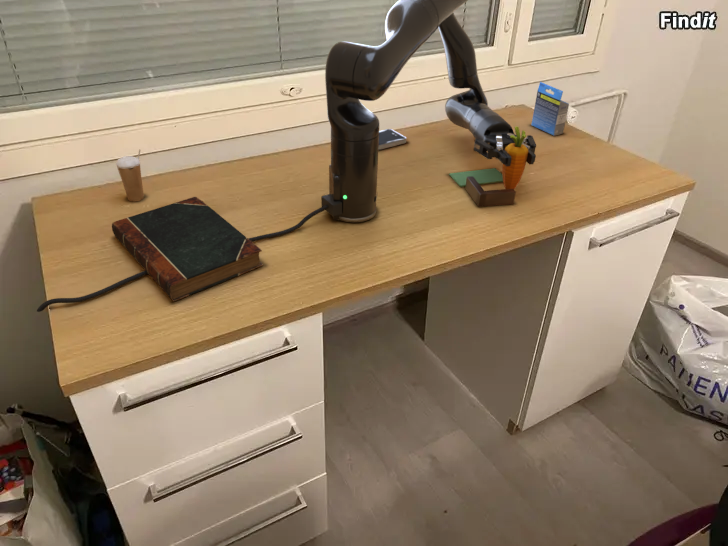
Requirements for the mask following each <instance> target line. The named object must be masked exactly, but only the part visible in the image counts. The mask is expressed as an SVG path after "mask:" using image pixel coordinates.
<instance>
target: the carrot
mask: <svg viewBox="0 0 728 546" xmlns="http://www.w3.org/2000/svg"><path fill="white" fill-rule="evenodd" d="M514 133H515V135H516V136H517V137H515V136H514V135H511V136H510V137H511V138H512V139H513V140H514V142H515V143H511V144H509V145H508V146H507V147H506V148H505V151H506V152H507V153H508V154H509V155H510V156H511V158H512V159H511V165H510V166H506V165H505V164H502V167H501V168H502V170H501V174H502V175H503V182H502V184H503V186H504V187H503V188H504V189H514V190H515V189H516V188H517V187H518V184H519V183H520V181H521V179H522V176H523V174H524V171H525V169H526V164H527V162H526V161H527V157H528V149H527V147H526V146H525V145H523V144H522V142H523V140H524V138H525V139H526V138H527V135H526V131H525V130H522V131H520V128H519V126H517V125H516V126H515V127H514ZM520 138H521V139H520Z"/></svg>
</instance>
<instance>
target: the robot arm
mask: <svg viewBox="0 0 728 546" xmlns="http://www.w3.org/2000/svg"><path fill="white" fill-rule="evenodd" d="M468 1H469V0H397V1H396V2H395V4H393V5H392V6H391V8H390V9H389V11H388V12H387V14H386V17H385V22H384V30H385V31H384V32H385V37H386V41H385V42H383V43H381V44H380V45H375V46H373V45H368V44H363V43H356V42H350V41H338V42H336V43H335V44H334V45H333V46H331V48H330V50H329V52H328V55H327V57H326V63H325V70H324V71H325V72H324V79H325V80H324V82H325V95H326V113H327V120H328V122H329V126H330V164H329V165H328V178H329V179H328V181H329V182H328V183H329V184H328V191H329V192H328V194H325V195H321V202H320V203H321V206H320V207H319V208H317V209H315V210H313V211H312V212H310V213H308V214H306V215H305V216H303V218H302V219H301V220H300V221H299V222H298V223H296V224H295V225H294V226H291V227H289V228H287V229H284V230H280V231H275V232H271V233H266V234H261V235H257V236H252V237H249V238H248V237H247V238H248V239H249V240H250V241H252V242H253V243H254V242H257V241H261V240H266V239H271V238H275V237H276V238H277V237H281V236H284V235H287V234H291V233H292V232H295V231H296V230H299V229H300V228H301V227H302V226H303V225H304V224H305V223H306V222H307V221H309V220H310V219H311V218H313V217H314V216H317V215H318V214H320V213H322V212H324V211H326V212H327V213H328V214H329V215H331V217H332V220H333V221H341V222H345V223H363V222H367V221H369V220H371V219H373V218H374V217H375V216H376V215H377V200H378V191H377V190H378V170H379V169H378V168H379V167H378V166H379V150H378V148H379V131H380V119H379V118H378V116H377V115H376V114H375V113H374V112H372V111H371V110H369V108H367V107H366V106H365V105H364V104H363V103H362V102H361V101H364V102H374V101H377V100H379V99H380V98H382V97H383V96H384V95H385V94H386V92H387V91H388V90H389V89H390V88H391V86H392V84H393V83H394V82H395V80H396V79H397V78H398V75H400V73H401V72H402V70H403V69H404V67H405V66H406V64H408V61H410V59H411V58H412V57H413V56H414V55H415V54H416V52H418V50H419V49H420V48H421V47H422V46H423V45H424V44H425V43H426V42H428V40H429V39H430V38H431V37H432V35H434V33H435V32H436V31H437V30H438V31H439V35H440V39H441V42H442V46H443V49H444V55H445V61H446V69H447V76H448V83H449V85H450V87H452V88H453V89H460V90H461V89H468V90H466V91H462V92H460V93H456V94H453V95H451V96H449V97H448V99H446V101H445V104H444V112H445V115H446V117H447V118H448V120H449V121H450V122H451V123H452V124H453V125H455V126H457V127H460V128H462V129H465V130H468V131H469V132H470V133H471V135H472V136H473V138H474V144H473V152H476V153H478V154H479V155H481V156H482V157H484V158H485V159H487V160H493V158H495V160H497V161H499V162H500V163H501V164H502V165H503V164H505V165H506V166H510V165H511V159H512V158H511V156H510V155H509V154H508V153H507V152H506V151H505V148H506V147H507V146H508V145H509V144H511V143H515V142H514V140H513V139H512V138H511V137H510V136H511V135H514V136H515V137H517V136H516V133H515V131H514V129H513V127H512V126H511V124H509V122H507V121H506V119H504V118H503V117H502V116H501V115H500V114H499V113H498V112H496V111H494V110H493V109H492V108H491V107H490V106H489V102H488V99H487V96H486V94H485V92H484V89H483V87H482V85H481V81H480V79H479V75H478V65H477V56H476V55H477V54H476V50H475V47H474V44H473V42H472V40H471V38H470V37H469V35H468V33H467V32H466V31H465V29H464V28H463V26H462V25H461V24H460V22H459V21H458V19H457V17H456V15H455V13H454V12H455V11H456V10H458V9H459V8H460V7H462V6H463V5H464V4H466V3H467V2H468ZM520 139H521V137H520ZM522 144H523V145H525V146H526V147H527V149H528V157H527V161H526V164H528V165H529V166H531V165H534V164H535V162H536V157H537V156H536V148H537V143H536V140H535V138H534V137H533V135H531V134H529V135H526V137H525V138H524V140H523V142H522ZM147 275H149V274H148V272H147V271H146V270H145V269H144V270H142V271H140V272H138V273H135V274H133V275H130V276H128V277H126V278H124V279H122V280H119V281H117V282H115V283H113V284H111V285H109V286H106V287H104V288H102V289H99V290H97V291H94V292H91V293H89V294H85V295H82V296H77V297H56V298H51V299H48V300H46V301H44V302H43V303H41V304H40V305H39V306H38V308H37V309H36V312H38V313H40V312H43V311H44V310H45V309H46V308H47V307H49V306H50V305H54V304H72V303H83V302H85V301H88V300H91V299H92V300H93V299H94V298H98V297H100V296H102V295H104V294H107V293H109V292H111V291H113V290H115V289H117V288H119V287H122V286H124V285H126V284H129V283H130V282H133V281H136V280H138V279H141V278H143V277H145V276H147Z"/></svg>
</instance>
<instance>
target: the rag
mask: <svg viewBox="0 0 728 546" xmlns="http://www.w3.org/2000/svg"><path fill="white" fill-rule="evenodd" d="M448 175H449V177H450V178H451V179H452V180H453V181H454V182H455V183H456V184H457V185H458V186H459V187H460V188H464V187H465V186H466V179H467V177H470V176H473V177H474V178H475V179H476V181H477V182H478V183H479V184H480V186H482V185H489V184H497V183H503V174H502V172H501V171H499V170H498V169H497V168H496V167H493V168H485V169H483V168H482V169H475V170H466V171H459V172H449V173H448Z"/></svg>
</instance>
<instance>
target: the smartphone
mask: <svg viewBox="0 0 728 546" xmlns="http://www.w3.org/2000/svg"><path fill="white" fill-rule="evenodd" d="M403 144H407V136H405V135H403V134H402V133H400V132H398V131H396V130H394V129H393V128H386V129H381V130H379V148H378V151H380V150H384V149H388V148H392V147H397V146H400V145H403Z"/></svg>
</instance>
